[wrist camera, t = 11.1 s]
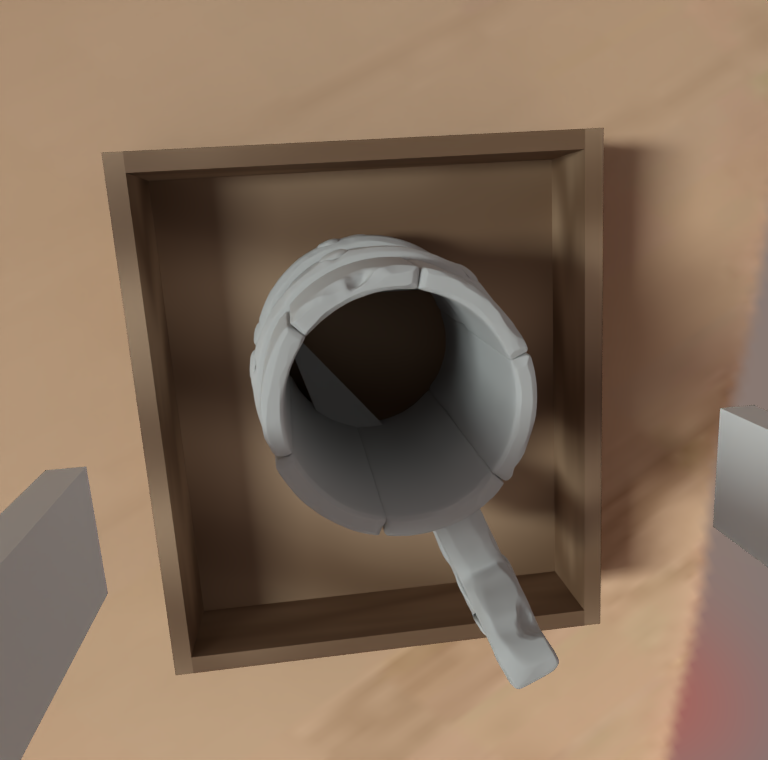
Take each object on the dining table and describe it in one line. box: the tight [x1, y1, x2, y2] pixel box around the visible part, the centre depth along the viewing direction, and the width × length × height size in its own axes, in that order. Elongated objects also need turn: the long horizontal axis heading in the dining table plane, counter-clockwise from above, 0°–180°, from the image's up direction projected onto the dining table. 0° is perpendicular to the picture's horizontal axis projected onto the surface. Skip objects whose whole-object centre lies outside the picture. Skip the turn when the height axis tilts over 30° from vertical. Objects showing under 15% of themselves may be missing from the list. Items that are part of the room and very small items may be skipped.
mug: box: [250, 234, 559, 689], centre depth 20 cm, size 8×12×12 cm, turn 26°
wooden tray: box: [102, 128, 604, 675], centre depth 24 cm, size 17×15×4 cm
